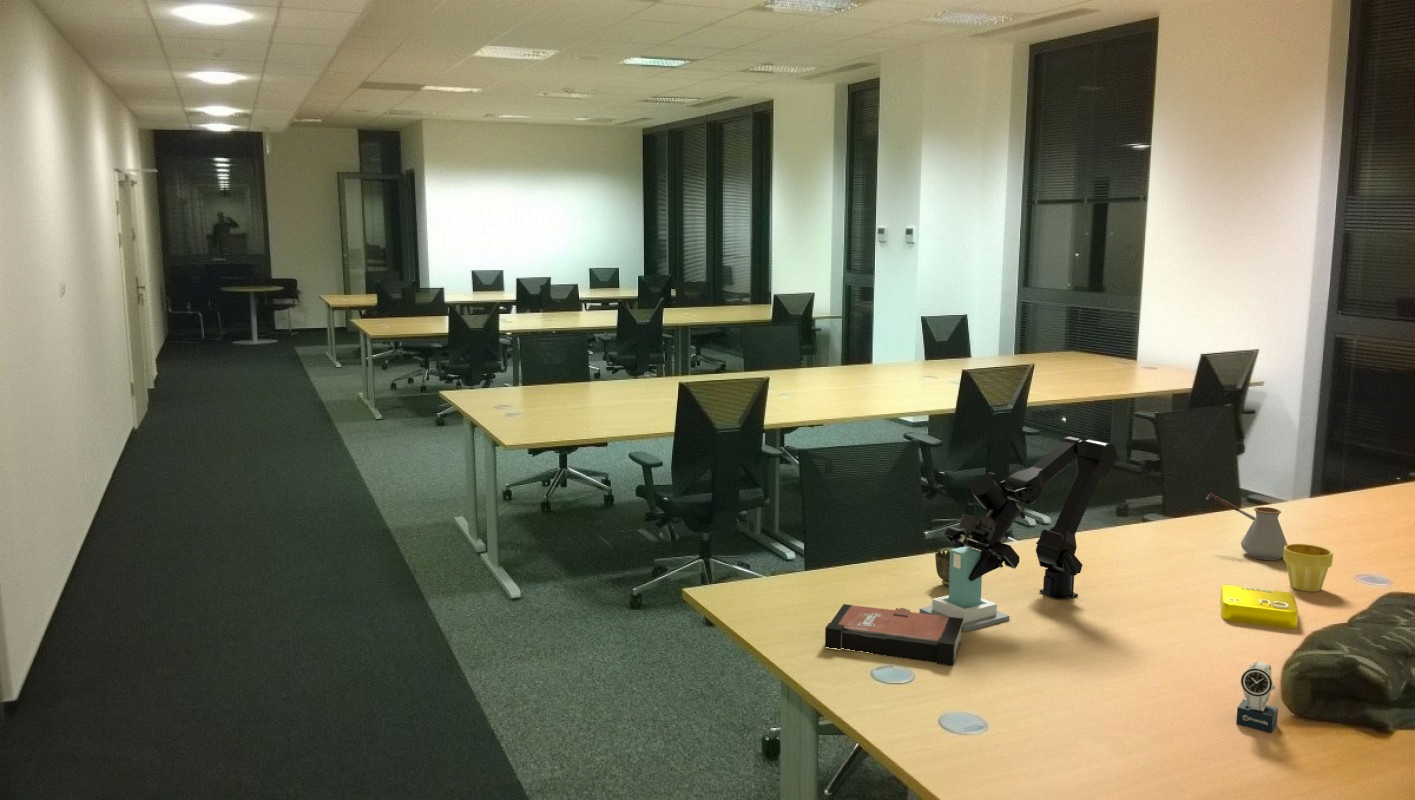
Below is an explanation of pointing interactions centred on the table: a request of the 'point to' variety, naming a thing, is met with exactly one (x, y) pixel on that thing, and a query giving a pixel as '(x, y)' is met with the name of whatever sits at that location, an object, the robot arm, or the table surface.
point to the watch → (1257, 699)
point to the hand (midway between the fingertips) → (961, 576)
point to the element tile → (1258, 606)
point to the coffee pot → (1261, 533)
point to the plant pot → (1307, 566)
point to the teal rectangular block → (964, 578)
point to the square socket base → (967, 613)
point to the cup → (943, 566)
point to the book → (896, 633)
